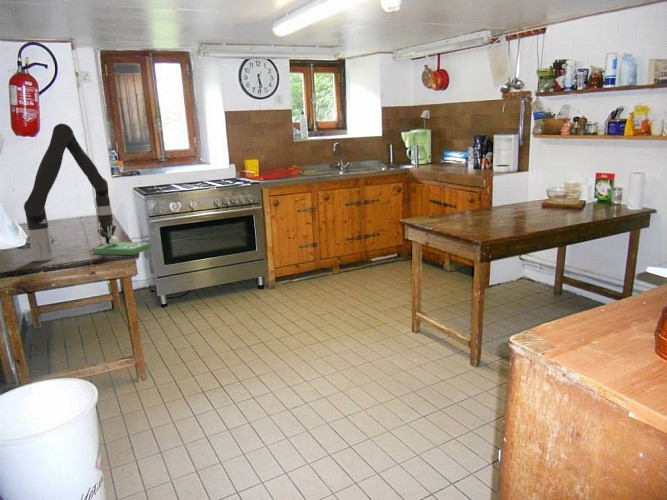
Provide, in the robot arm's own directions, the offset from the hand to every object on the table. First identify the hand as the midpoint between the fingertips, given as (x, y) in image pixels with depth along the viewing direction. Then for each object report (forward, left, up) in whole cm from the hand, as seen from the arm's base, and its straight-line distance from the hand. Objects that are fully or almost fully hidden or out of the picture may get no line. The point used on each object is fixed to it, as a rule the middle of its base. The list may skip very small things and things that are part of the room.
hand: (109, 243), depth 280 cm
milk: (+16, +14, -4) cm, 22 cm away
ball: (0, -4, +2) cm, 4 cm away
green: (0, -9, -4) cm, 10 cm away
